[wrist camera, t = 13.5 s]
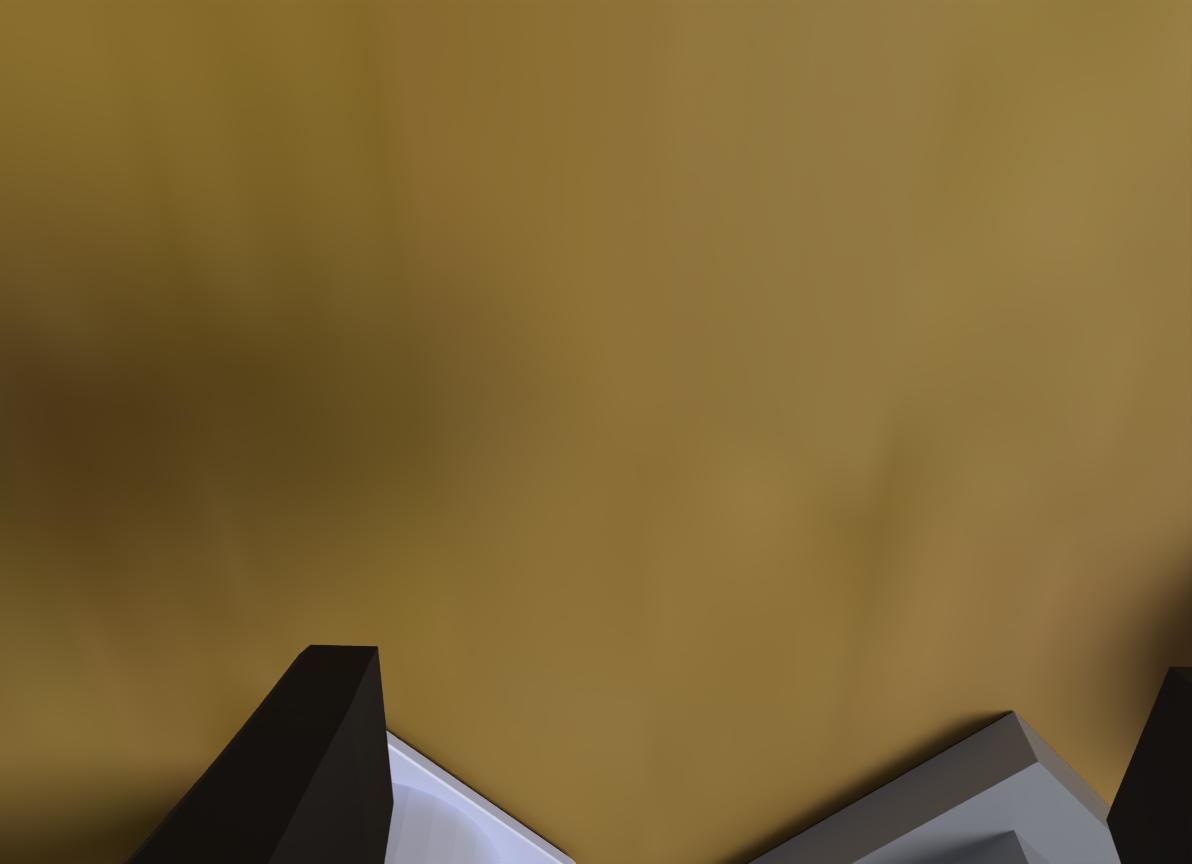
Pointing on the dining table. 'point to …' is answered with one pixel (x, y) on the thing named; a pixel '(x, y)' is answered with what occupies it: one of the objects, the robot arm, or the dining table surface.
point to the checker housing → (968, 811)
